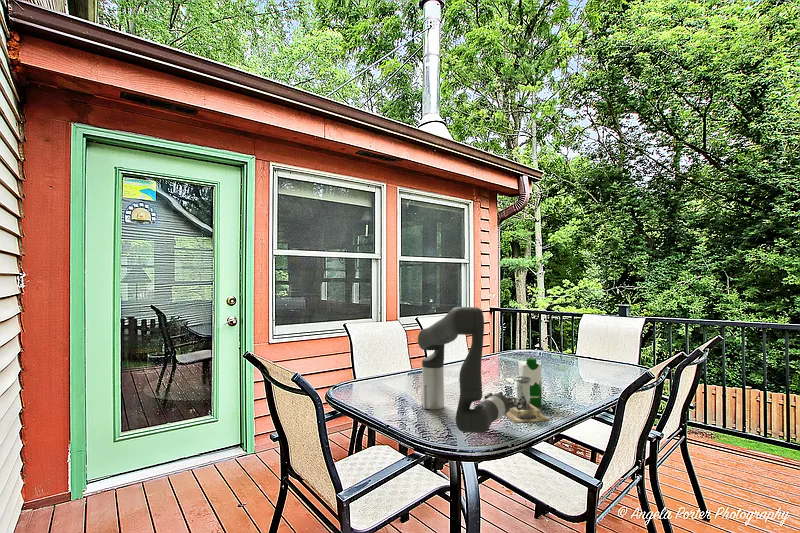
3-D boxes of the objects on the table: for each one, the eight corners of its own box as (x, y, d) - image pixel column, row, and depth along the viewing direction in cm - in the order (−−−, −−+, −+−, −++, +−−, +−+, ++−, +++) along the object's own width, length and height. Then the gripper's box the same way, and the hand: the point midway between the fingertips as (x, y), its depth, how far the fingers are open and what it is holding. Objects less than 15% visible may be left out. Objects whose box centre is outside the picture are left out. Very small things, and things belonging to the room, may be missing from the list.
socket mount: (514, 422, 155) (514, 413, 155) (500, 410, 169) (500, 402, 169) (549, 420, 157) (548, 411, 157) (532, 409, 171) (532, 401, 171)
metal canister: (519, 416, 160) (519, 380, 160) (513, 411, 166) (513, 376, 166) (533, 415, 161) (533, 379, 161) (527, 410, 166) (526, 376, 167)
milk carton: (523, 408, 173) (523, 360, 173) (517, 401, 182) (516, 356, 182) (544, 407, 173) (543, 359, 174) (536, 401, 182) (535, 355, 183)
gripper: (514, 400, 138) (531, 389, 151) (475, 393, 146) (494, 383, 159) (514, 422, 137) (531, 410, 150) (476, 414, 146) (495, 403, 159)
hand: (512, 396), depth 155 cm, fingers open, 8 cm apart
